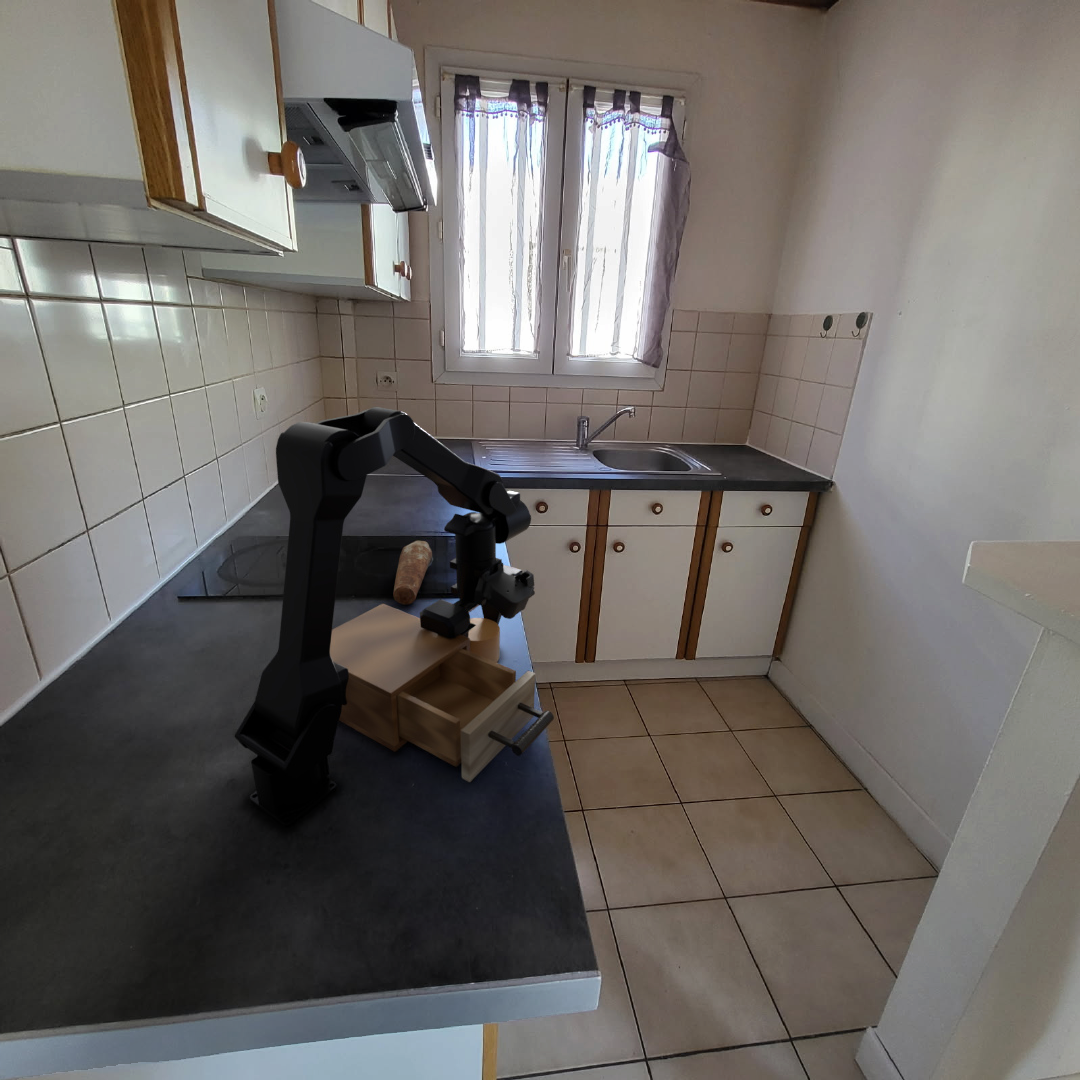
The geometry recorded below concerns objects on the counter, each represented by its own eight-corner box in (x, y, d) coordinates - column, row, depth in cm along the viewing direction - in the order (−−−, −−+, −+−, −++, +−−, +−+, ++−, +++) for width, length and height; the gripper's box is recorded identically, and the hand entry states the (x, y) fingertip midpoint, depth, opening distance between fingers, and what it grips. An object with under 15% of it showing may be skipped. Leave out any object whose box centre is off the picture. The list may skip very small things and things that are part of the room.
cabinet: (470, 690, 79) (470, 638, 76) (394, 752, 67) (390, 693, 64) (386, 652, 87) (382, 603, 84) (305, 701, 75) (297, 647, 72)
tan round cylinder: (481, 675, 82) (481, 646, 81) (446, 659, 86) (445, 631, 84) (508, 653, 88) (508, 626, 86) (473, 640, 91) (473, 613, 89)
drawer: (565, 731, 71) (568, 686, 68) (504, 802, 60) (505, 752, 57) (443, 675, 80) (441, 635, 78) (371, 728, 70) (367, 683, 67)
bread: (433, 564, 117) (432, 539, 115) (418, 608, 100) (416, 580, 98) (403, 563, 117) (401, 539, 115) (382, 608, 99) (380, 579, 97)
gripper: (481, 596, 69) (482, 698, 75) (557, 545, 83) (553, 634, 90) (414, 572, 74) (420, 669, 80) (496, 529, 89) (496, 614, 95)
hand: (477, 645), depth 86 cm, fingers closed on tan round cylinder, 7 cm apart
